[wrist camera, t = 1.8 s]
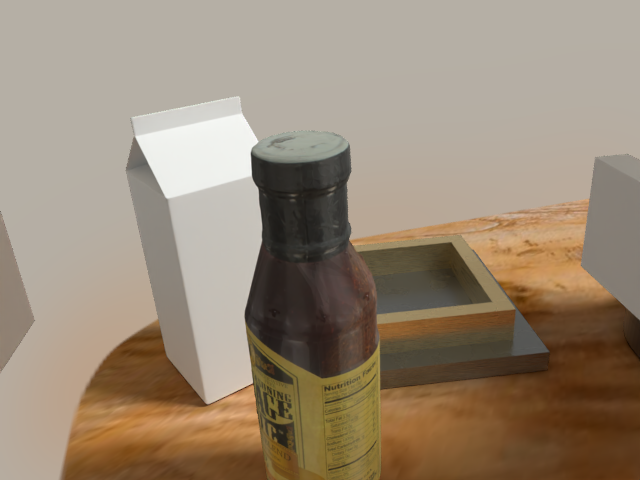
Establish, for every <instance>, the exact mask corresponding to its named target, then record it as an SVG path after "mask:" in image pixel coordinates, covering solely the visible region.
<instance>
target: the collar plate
mask: <svg viewBox="0 0 640 480" xmlns="http://www.w3.org/2000/svg"><path fill="white" fill-rule="evenodd" d="M353 247H354V248H355V250H356V252H357V253H358V254H361V255H362V256H363V258H364V261H365V263H366V265H367V266H368V268H369V270H370V272H371V273H372V277H373V280H374V283H375V286H376V292H377V328H378V331H379V337H380V389H385V388H394V387H403V386H412V385H420V384H429V383H438V382H447V381H456V380H464V379H473V378H482V377H491V376H499V375H508V374H517V373H526V372H534V371H543V370H548V362H549V353H550V352H549V350H548V349H547V348H546V346H545V345H544V344H543V342H542V341H541V340H540V338H539V337H538V336H537V334H536V333H535V332H534V330H533V329H532V328H531V326H530V325H529V324H528V322H527V321H526V320H525V318H524V317H523V316H522V314H521V313H520V312H519V310H518V309H517V307H516V306H515V305H514V303H513V302H512V301H511V299H510V298H509V297H508V295H507V294H506V293H505V291H504V290H503V289H502V287H501V286H500V285H499V283H498V282H497V281H496V279H495V278H494V277H493V275H492V274H491V273H490V271H489V270H488V269H487V267H486V266H485V265H484V263H483V262H482V261H481V259H480V258H479V256H478V255H477V254H476V252H475V251H474V250H472V249H471V248H470V247H469V245H468V244H467V243H466V241H465V240H464V238H463V237H462V236H461V235H456V236H446V237H436V238H427V239H417V240H407V241H397V242H387V243H378V244H368V245H358V246H353Z"/></svg>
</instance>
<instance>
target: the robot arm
mask: <svg viewBox="0 0 640 480" xmlns="http://www.w3.org/2000/svg"><path fill="white" fill-rule="evenodd" d="M581 266H582V267H583V268H584V269H585V270H586V271H587V272H588V273H589V274H590V275H591V276H592V277H594V278H595V279H596V280H597V281H598V282H599V283H600V284H601V285H602V286H603V287H604V288H605V289H606V290H608V291H609V292H610V293H611V294H612V295H613V296H614V297H615V298H616V299H617V300H618V301H619V302H621V303H622V304H623V305H624V306H625V307H626V311H625V317H624V323H623V329H624V334H625V337H626V339H627V341H628V343H629V345H630V347H631V348H632V349H633V351H634V352H635V353H636V354H637V355H638V356H639V358H640V160H639V159H637V158H635V157H633V156H631V155H629V154H625V155H613V156H603V157H595V163H594V171H593V178H592V186H591V193H590V201H589V208H588V216H587V223H586V231H585V239H584V246H583V254H582V261H581ZM34 321H35V320H34V316H33V313H32V310H31V307H30V304H29V301H28V298H27V295H26V291H25V288H24V285H23V281H22V278H21V275H20V272H19V269H18V265H17V262H16V259H15V256H14V253H13V249H12V246H11V243H10V240H9V236H8V233H7V230H6V227H5V224H4V220H3V218H2V214H1V211H0V373H1V371H2V370H3V368H4V367H5V365H6V364H7V362H8V360H9V359H10V357H11V356H12V354H13V353H14V351H15V350H16V348H17V347H18V345H19V344H20V342H21V341H22V339H23V337H24V336H25V335H26V333H27V332H28V330H29V329H30V327H31V326H32V324H33V322H34Z"/></svg>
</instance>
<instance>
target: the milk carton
mask: <svg viewBox="0 0 640 480" xmlns="http://www.w3.org/2000/svg"><path fill="white" fill-rule="evenodd" d="M131 124H132V128H133V133H134V138H133V142H132V146H131V150H130V154H129V158H128V163H127V167H126V173H127V178H128V182H129V187H130V192H131V196H132V201H133V205H134V210H135V214H136V218H137V223H138V228H139V233H140V237H141V242H142V246H143V251H144V255H145V260H146V265H147V269H148V274H149V278H150V283H151V287H152V292H153V296H154V301H155V306H156V310H157V315H158V319H159V324H160V328H161V333H162V338H163V342H164V347H165V351H166V355H167V357H168V359H169V360H170V361H171V362H172V363H173V365H174V366H175V367H176V368H177V369H178V371H179V372H180V373H181V374H182V375H183V377H184V378H185V379H186V380H187V382H188V383H189V384H190V385H191V386H192V388H193V389H194V390H195V391H196V392H197V394H198V395H199V396H200V397H201V398H202V400H203V401H204V402H205V403H206V404H210V403H213V402H215V401H217V400H219V399H221V398H223V397H225V396H227V395H230V394H232V393H234V392H236V391H238V390H240V389H242V388H244V387H246V386H248V385H250V384H253V378H252V371H251V369H252V368H251V361H250V354H249V347H248V341H247V334H246V325H245V318H244V314H245V308H246V305H247V300H248V296H249V292H250V288H251V284H252V279H253V275H254V271H255V267H256V263H257V259H258V255H259V251H260V247H261V243H262V219H261V210H260V205H259V190H258V187H257V186H256V185H255V183H254V181H253V178H252V169H251V150H252V147H253V146H255V145H256V144H257V143H258V140H257V138H256V137H255V135H254V133H253V131H252V130H251V128H250V126H249V125H248V123H247V121H246V119H245V118H244V116H243V114H242V110H241V102H240V97H232V98H227V99H222V100H217V101H212V102H207V103H203V104H197V105H192V106H187V107H182V108H177V109H172V110H167V111H162V112H157V113H151V114H146V115H142V116H136V117H132V118H131Z"/></svg>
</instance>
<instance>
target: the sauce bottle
mask: <svg viewBox="0 0 640 480" xmlns="http://www.w3.org/2000/svg"><path fill="white" fill-rule="evenodd" d="M251 169H252V178H253V181H254V183H255V185H256V186H257V187H258V190H259V205H260V210H261V219H262V243H261V247H260V251H259V255H258V259H257V263H256V267H255V271H254V275H253V279H252V284H251V288H250V292H249V296H248V300H247V305H246V308H245V314H244V318H245V325H246V334H247V341H248V347H249V354H250V361H251V368H252V369H251V371H252V378H253V385H254V392H255V398H256V406H257V414H258V420H259V426H260V434H261V441H262V448H263V455H264V461H265V468H266V475H267V480H379V478H380V474H381V405H380V337H379V331H378V328H377V292H376V286H375V283H374V280H373V277H372V273H371V272H370V270H369V268H368V266H367V265H366V263H365V261H364V258H363V256H362V255H361V254H358V253H357V252H356V250H355V248H354V247H353V245H352V244H351V242H350V241H349V237H350V234H351V226H350V223H349V222H348V205H347V181H348V179H349V176H350V173H351V159H350V146H349V143H348V141H347V140H346V139H344V138H343V137H342V136H340V135H337V134H335V133H329V132H318V131H297V132H295V131H294V132H287V133H282V134H278V135H274V136H270V137H268V138H266V139H263V140H261V141H260V142H258V143H257V144H256V145H255V146H253V147H252V150H251Z"/></svg>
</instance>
